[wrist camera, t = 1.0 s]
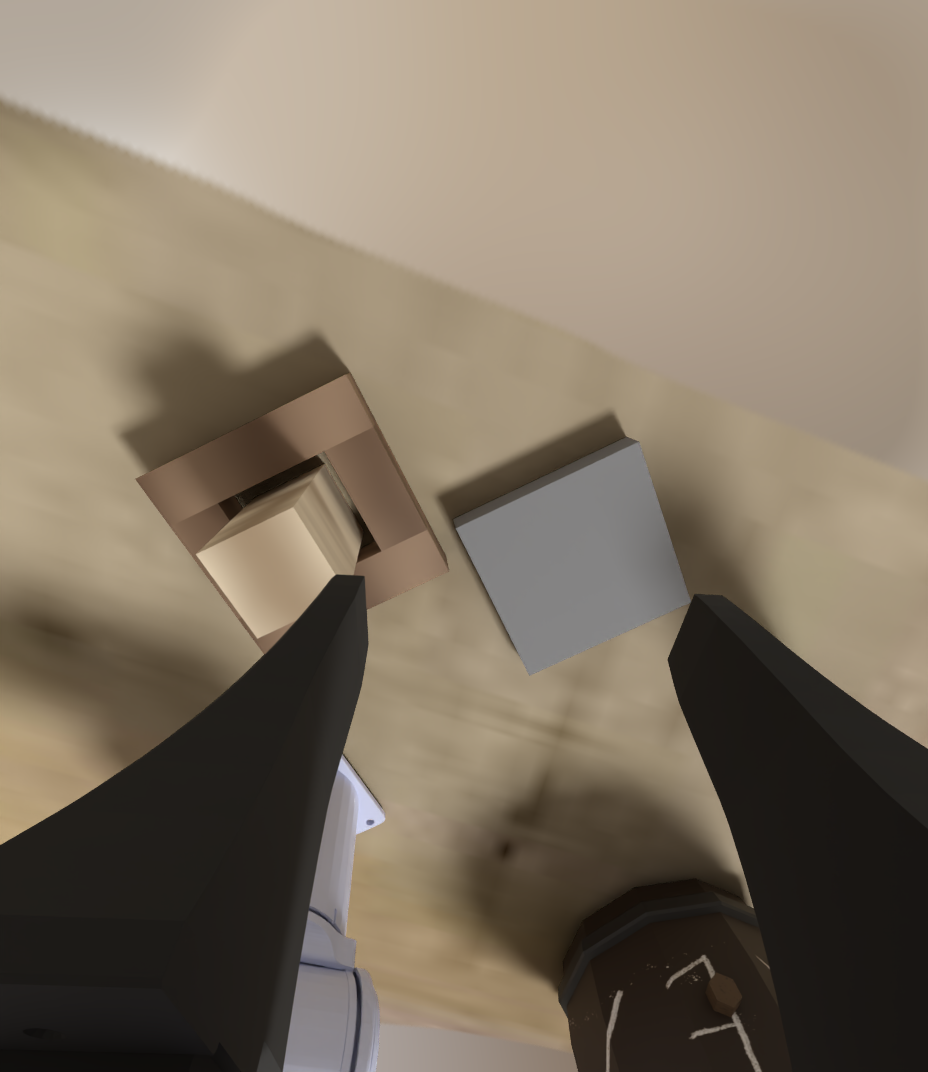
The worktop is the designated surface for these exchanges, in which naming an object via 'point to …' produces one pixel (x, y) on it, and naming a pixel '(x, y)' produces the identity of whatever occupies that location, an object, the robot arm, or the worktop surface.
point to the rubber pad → (576, 555)
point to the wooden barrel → (672, 985)
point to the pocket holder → (282, 442)
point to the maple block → (284, 550)
